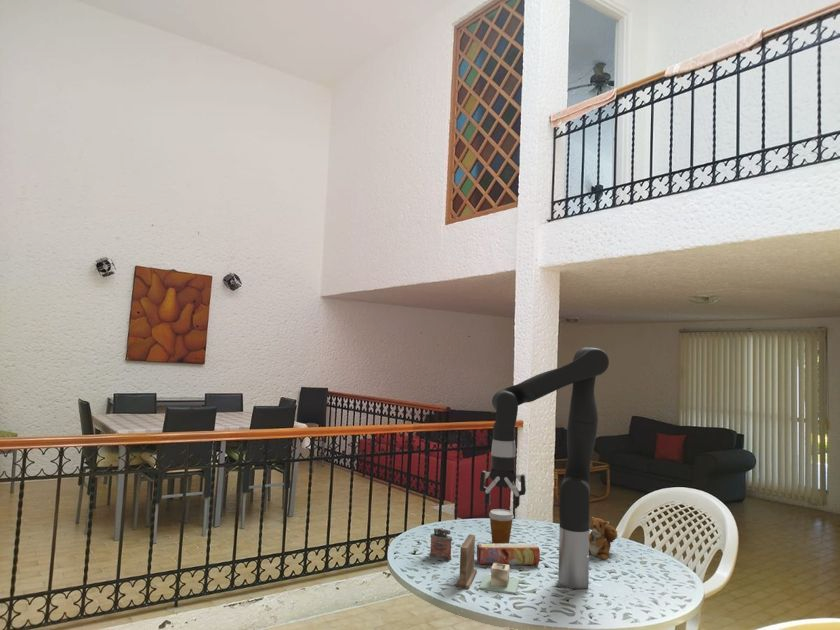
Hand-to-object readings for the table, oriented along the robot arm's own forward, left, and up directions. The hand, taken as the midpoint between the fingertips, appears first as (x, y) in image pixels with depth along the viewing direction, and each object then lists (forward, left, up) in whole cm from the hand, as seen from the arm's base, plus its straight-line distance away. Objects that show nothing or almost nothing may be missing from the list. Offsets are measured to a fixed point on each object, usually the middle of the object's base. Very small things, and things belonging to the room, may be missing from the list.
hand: (502, 506), depth 177 cm
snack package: (0, -20, -24) cm, 32 cm away
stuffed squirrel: (-31, -44, -24) cm, 59 cm away
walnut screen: (+11, 0, -24) cm, 26 cm away
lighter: (+23, -16, -24) cm, 37 cm away
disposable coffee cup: (+5, -39, -24) cm, 46 cm away
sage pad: (0, 0, -24) cm, 24 cm away
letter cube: (0, 0, -23) cm, 23 cm away
